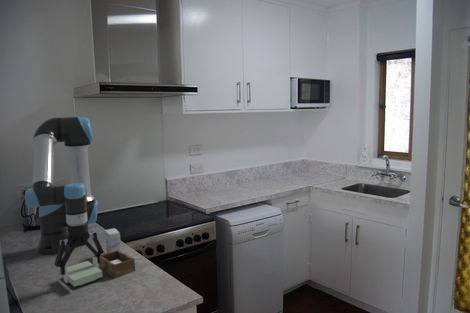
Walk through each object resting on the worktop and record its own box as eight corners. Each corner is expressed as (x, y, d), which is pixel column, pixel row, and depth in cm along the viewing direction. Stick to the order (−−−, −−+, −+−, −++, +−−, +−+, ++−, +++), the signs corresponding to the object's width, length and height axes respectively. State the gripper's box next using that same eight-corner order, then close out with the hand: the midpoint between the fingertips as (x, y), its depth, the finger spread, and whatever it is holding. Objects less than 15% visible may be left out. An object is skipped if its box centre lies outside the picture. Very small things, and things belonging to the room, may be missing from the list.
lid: (60, 277, 144) (60, 269, 143) (88, 268, 151) (87, 260, 151) (74, 289, 134) (73, 280, 133) (102, 279, 142) (102, 270, 141)
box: (99, 269, 153) (98, 256, 152) (119, 263, 159) (118, 250, 158) (114, 280, 143) (113, 265, 142) (135, 272, 149) (134, 258, 149)
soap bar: (109, 268, 152) (108, 261, 151) (118, 265, 155) (117, 259, 154) (115, 273, 148) (115, 266, 147) (124, 269, 150) (124, 263, 150)
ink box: (122, 257, 166) (120, 232, 164) (111, 259, 163) (109, 234, 162) (117, 251, 173) (115, 227, 172) (106, 253, 170) (104, 229, 169)
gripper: (48, 232, 129) (53, 290, 132) (110, 218, 145) (113, 269, 148) (41, 228, 134) (46, 283, 137) (102, 214, 151) (105, 264, 153)
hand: (81, 276), depth 143 cm, fingers closed on lid, 11 cm apart
